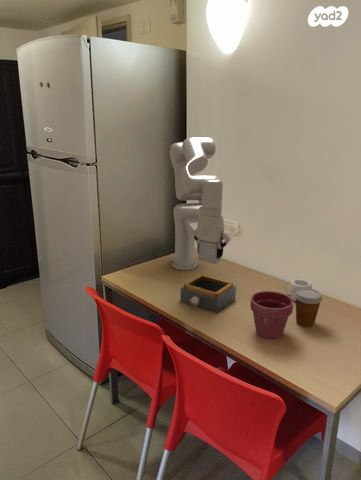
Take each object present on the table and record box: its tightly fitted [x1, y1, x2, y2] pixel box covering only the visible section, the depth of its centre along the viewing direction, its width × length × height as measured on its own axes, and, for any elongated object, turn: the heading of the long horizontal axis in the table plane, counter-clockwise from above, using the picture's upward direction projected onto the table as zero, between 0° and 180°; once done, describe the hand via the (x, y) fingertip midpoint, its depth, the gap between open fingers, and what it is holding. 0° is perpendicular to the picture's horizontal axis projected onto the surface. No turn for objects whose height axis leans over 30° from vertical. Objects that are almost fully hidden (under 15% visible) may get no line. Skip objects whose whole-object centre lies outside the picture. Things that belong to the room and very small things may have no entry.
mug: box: [284, 278, 313, 302], centre depth 162 cm, size 12×8×8 cm
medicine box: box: [198, 240, 222, 265], centre depth 154 cm, size 8×4×9 cm, turn 58°
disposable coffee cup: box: [295, 288, 323, 328], centre depth 142 cm, size 10×10×12 cm
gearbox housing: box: [179, 274, 237, 315], centre depth 158 cm, size 17×19×8 cm
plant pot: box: [249, 290, 294, 340], centre depth 136 cm, size 14×14×13 cm
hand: (209, 254), depth 154 cm, fingers closed on medicine box, 8 cm apart
